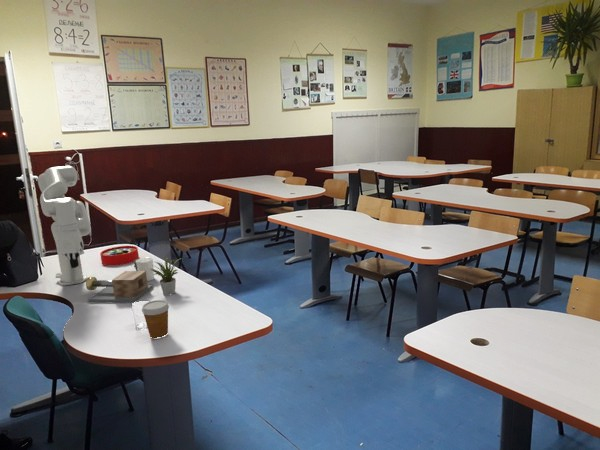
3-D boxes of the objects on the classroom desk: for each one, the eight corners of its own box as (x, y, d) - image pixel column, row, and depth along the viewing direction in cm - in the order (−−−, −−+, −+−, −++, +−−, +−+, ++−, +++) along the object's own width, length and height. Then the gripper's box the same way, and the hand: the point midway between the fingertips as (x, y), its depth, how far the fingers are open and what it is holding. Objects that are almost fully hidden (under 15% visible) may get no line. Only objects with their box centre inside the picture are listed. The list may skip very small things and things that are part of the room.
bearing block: (114, 296, 216) (111, 279, 214) (127, 287, 227) (125, 271, 226) (135, 296, 214) (133, 279, 212) (147, 287, 226) (145, 270, 224)
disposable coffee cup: (140, 338, 177) (135, 307, 174) (159, 327, 185) (155, 298, 182) (158, 343, 172) (154, 311, 169) (178, 332, 180) (174, 302, 177)
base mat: (88, 302, 215) (87, 299, 215) (109, 287, 232) (109, 284, 232) (134, 302, 212) (134, 299, 211) (153, 287, 229) (152, 284, 228)
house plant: (176, 284, 232) (172, 251, 228) (192, 290, 222) (188, 256, 218) (149, 293, 222) (144, 258, 218) (164, 300, 212) (160, 264, 209)
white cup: (158, 278, 242) (155, 259, 240) (143, 283, 236) (141, 263, 234) (149, 275, 247) (147, 256, 245) (135, 279, 242) (132, 260, 239)
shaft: (86, 292, 221) (84, 279, 220) (94, 287, 227) (92, 275, 225) (123, 292, 218) (121, 279, 217) (130, 287, 224) (128, 275, 222)
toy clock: (143, 249, 275) (108, 258, 262) (145, 259, 277) (110, 268, 264) (128, 243, 290) (94, 251, 277) (130, 253, 291) (96, 261, 278)
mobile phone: (145, 263, 251) (137, 256, 264) (139, 265, 250) (131, 258, 262) (146, 273, 253) (138, 265, 265) (140, 274, 251) (132, 266, 263)
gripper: (47, 230, 216) (54, 270, 219) (78, 229, 213) (85, 269, 217) (58, 226, 223) (65, 265, 227) (88, 225, 220) (94, 264, 224)
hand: (75, 267), depth 222 cm, fingers closed
